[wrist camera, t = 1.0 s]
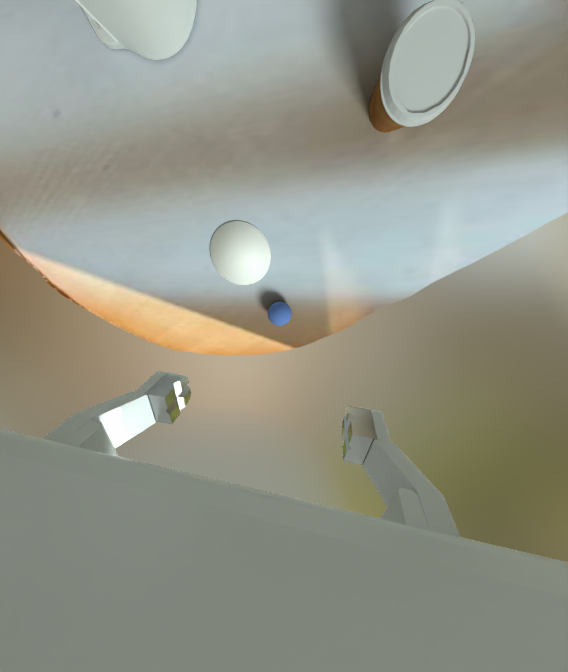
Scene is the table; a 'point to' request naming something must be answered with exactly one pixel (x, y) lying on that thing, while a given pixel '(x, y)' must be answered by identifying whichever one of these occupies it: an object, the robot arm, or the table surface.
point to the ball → (279, 313)
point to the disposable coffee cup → (423, 66)
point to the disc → (240, 252)
